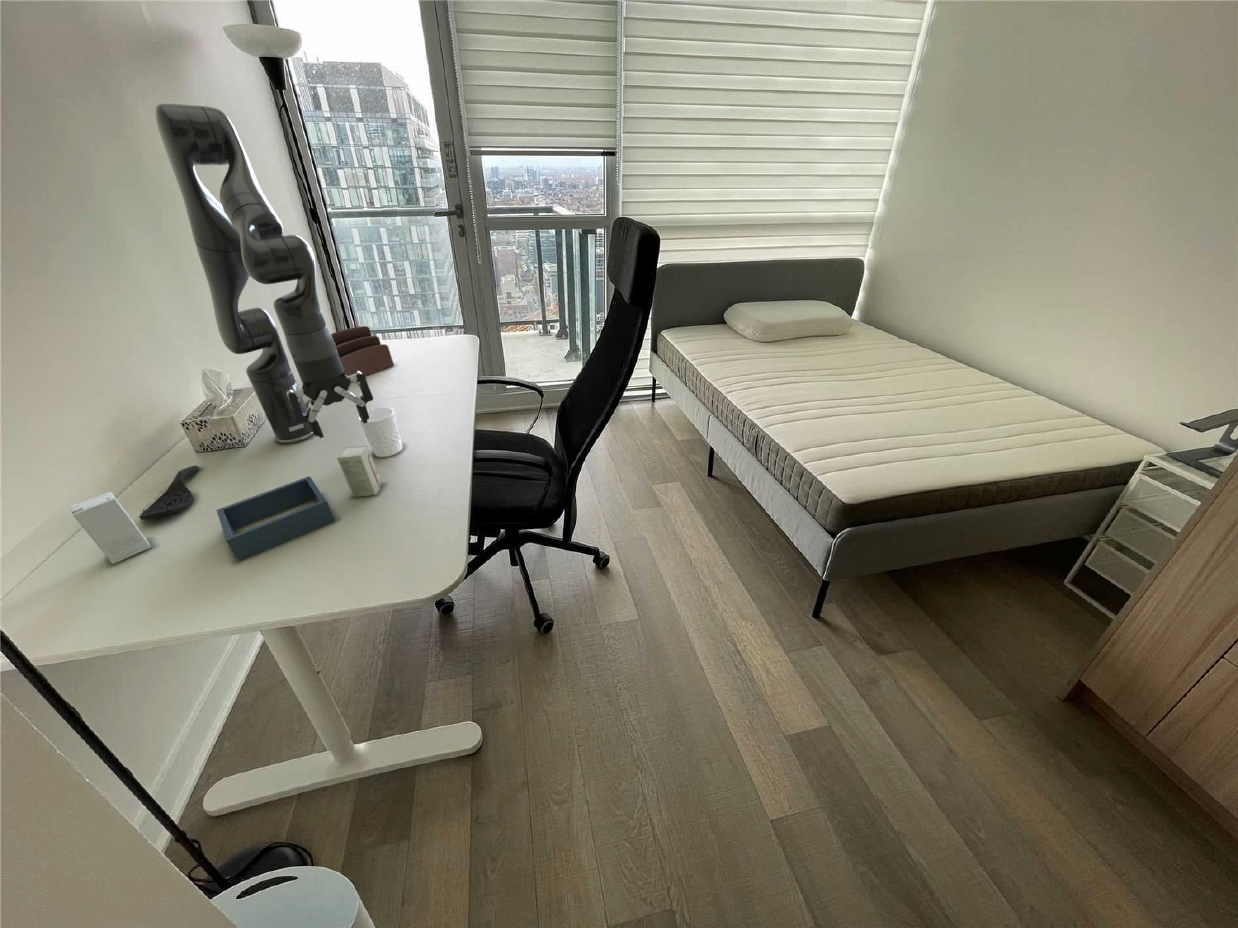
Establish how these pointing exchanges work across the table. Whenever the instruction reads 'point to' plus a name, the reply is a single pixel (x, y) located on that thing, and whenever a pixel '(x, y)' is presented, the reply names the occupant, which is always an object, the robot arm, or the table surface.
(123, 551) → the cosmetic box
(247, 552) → the blue open box
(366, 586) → the table surface
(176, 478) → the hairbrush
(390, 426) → the white cup
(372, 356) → the letter holder
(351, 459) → the white rectangular carton
